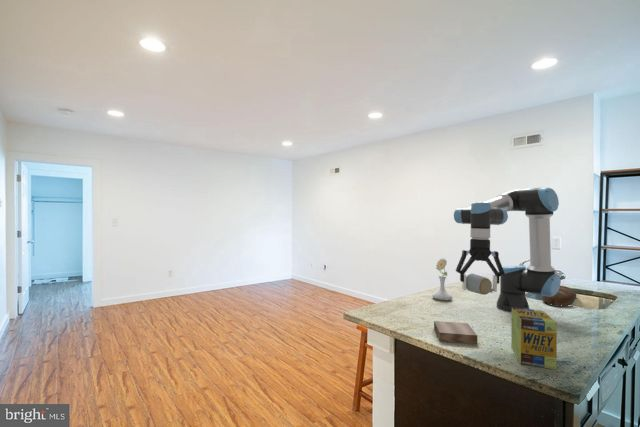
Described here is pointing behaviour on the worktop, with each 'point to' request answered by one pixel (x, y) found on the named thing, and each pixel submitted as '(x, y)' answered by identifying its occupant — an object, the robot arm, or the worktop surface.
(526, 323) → the protein box
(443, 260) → the flower in vase
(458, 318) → the worktop surface
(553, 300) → the bread
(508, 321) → the worktop surface
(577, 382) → the worktop surface
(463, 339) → the walnut stand
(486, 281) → the ceramic mug
